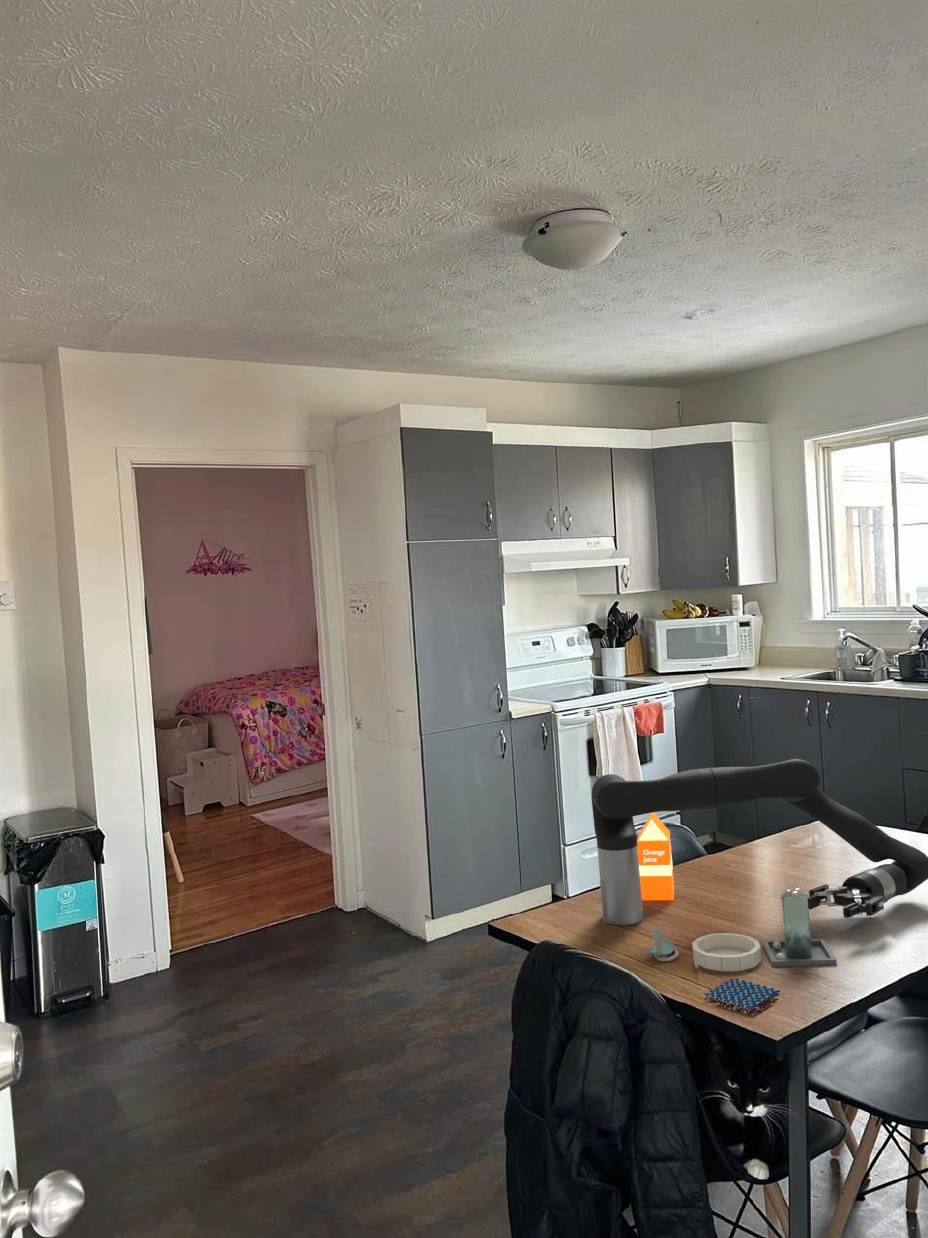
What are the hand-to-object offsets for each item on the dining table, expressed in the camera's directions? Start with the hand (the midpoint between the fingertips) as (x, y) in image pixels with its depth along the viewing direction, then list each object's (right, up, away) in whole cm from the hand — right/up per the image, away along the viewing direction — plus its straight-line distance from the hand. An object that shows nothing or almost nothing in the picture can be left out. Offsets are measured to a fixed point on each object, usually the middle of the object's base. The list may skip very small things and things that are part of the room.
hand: (825, 908), depth 197 cm
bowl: (-22, -9, -5) cm, 24 cm away
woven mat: (-23, -11, -22) cm, 34 cm away
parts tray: (-8, -8, -6) cm, 13 cm away
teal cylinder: (-8, -7, -6) cm, 12 cm away
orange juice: (-26, -9, +41) cm, 49 cm away
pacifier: (-33, -11, +1) cm, 35 cm away
